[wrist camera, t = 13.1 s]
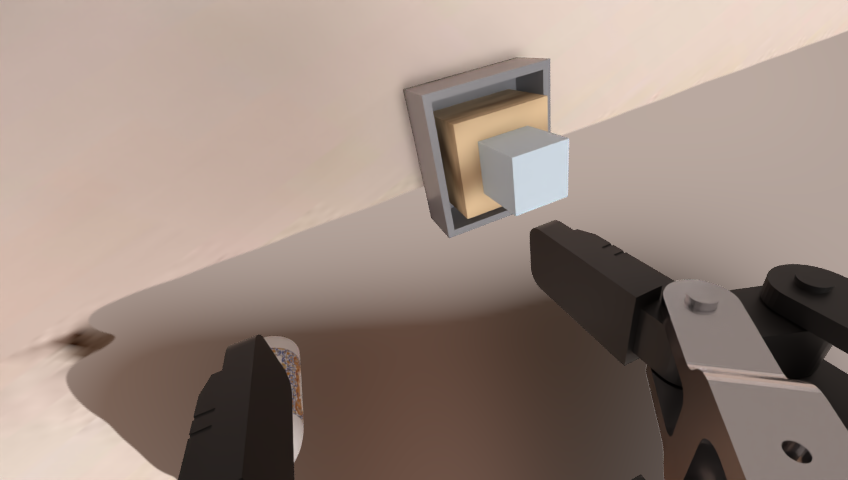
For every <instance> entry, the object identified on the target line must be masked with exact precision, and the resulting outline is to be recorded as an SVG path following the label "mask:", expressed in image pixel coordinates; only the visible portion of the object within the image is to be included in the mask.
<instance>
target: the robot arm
mask: <svg viewBox="0 0 848 480" xmlns="http://www.w3.org/2000/svg"><path fill="white" fill-rule="evenodd" d="M530 251H531V252H530V253H531V271H532V275H533V277H534V279H535V282H536V283H537V285H538V286H539V287H540V288H541V289H542V290H543V291H544V292H545V293H546V294H547V295H548V296H549V297H550V298H551V299H553V300H554V301H555V302H556V303H557V304H558V305H559V306H560V307H561V308H562V309H563V310H565V311H566V312H567V313H568V314H569V315H570V316H571V317H572V318H573V319H574V320H575V321H577V323H578V324H580V325H581V326H582V327H583V328H584V329H585V330H586V331H587V332H588V333H589V334H590V335H591V336H593V337H594V338H595V339H596V340H597V341H598V342H599V343H600V344H601V345H602V346H603V347H604V348H605V349H607V350H608V351H609V352H610V353H611V354H612V355H613V356H614V357H615V358H616V359H617V360H618V361H620V362H621V363H622V364H623V365H624V366H625V365H627V364H629V363H631V362H633V361H635V360H637V359H639V358H640V359H641V360H643V361H644V362H645V363H646V364H647V366H646V375H647V379H648V384H649V388H650V392H651V396H652V400H653V405H654V409H655V414H656V418H657V422H658V426H659V431H660V434H661V439H662V444H663V472H664V480H848V374H847V373H845V372H843V371H841V370H840V369H838V368H837V367H835V366H834V365H832V364H830V363H829V362H827V361H825V360H824V358H825V356H826V355H827V353H828V351H829V350H830V348H831V347H832V345H834V346H835V347H837V348H839V349H841V350H842V351H844V352H846V353H847V354H848V278H846V277H843V276H841V275H839V274H836V273H834V272H831V271H829V270H825V269H822V268H818V267H814V266H808V265H800V264H788V265H781V266H777V267H774V268H773V269H771V270H770V271H769V272H768V274H767V277H766V279H765V281H764V284H763V286H758V287H750V288H743V289H736V290H727V289H725V288H724V287H721V286H719V285H717V284H714V283H711V282H707V281H702V280H695V279H684V280H678V281H674V280H672V279H670V278H669V277H667V276H665V275H663V274H662V273H660V272H658V271H657V270H655V269H653V268H651V267H650V266H648V265H646V264H645V263H643V262H641V261H640V260H638V259H636V258H635V257H633V256H631V255H629V254H628V253H624V252H623V251H622V250H621V249H619V248H617V247H616V246H614V245H613V246H612V245H611V244H610V243H609V242H607V241H606V240H604V239H602V238H601V237H599V236H597V235H596V234H592V233H588V232H585V231H581V230H578V229H577V230H572V229H571V228H569V227H568V226H566V225H565V224H563V223H561V222H560V221H557V220H554V221H551V222H549V223H546V224H543V225H541V226H538V227H536V228H533V229H532V230H531V232H530ZM189 435H190V439H188V441H187V446H186V450H185V454H184V458H183V462H182V466H181V471H180V474H179V478H178V480H294V446H293V408H292V389H291V384H290V380H289V377H288V375H287V373H286V371H285V369H284V368H283V366H282V365H281V363H280V362H279V360H278V359H277V357H276V355H275V354H274V352H273V351H272V349H271V348H270V346H269V345H268V343H267V342H266V340H265V339H264V338H263V337H262V336H261V335H256V336H253V337H251V338H248V339H246V340H243V341H240V342H238V343H235V344H233V345H230V346H228V348H227V350H226V353H225V359H224V364H223V369H222V371H220V372H217V373H215V374H212V375H211V377H210V378H209V380H208V382H207V383H206V385H205V386H204V388H203V390H202V391H201V393H200V394H199V397H198V400H197V405H196V409H195V413H194V421H192V425H191V429H190V433H189ZM632 480H645V479H644V478H643V476H642V475H639V476H637V477H635V478H634V479H632Z"/></svg>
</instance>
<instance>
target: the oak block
mask: <svg viewBox="0 0 848 480" xmlns="http://www.w3.org/2000/svg"><path fill="white" fill-rule="evenodd" d="M433 114H434V119H435V125H436V130H437V136H438V141H439V147H440V152H441V158H442V163H443V169H444V175H445V180H446V186H447V191H448V197H449V202H450V203H451V204H452V205H453V206H454V207H455V208H456V209H457V210H458V211H460V212H461V213H462V214H463V215H464V216H465V217H466V218H467V219H469V218H472V217H475V216H477V215H480V214H483V213H486V212H488V211H491V210H494V209H496V208H499V207H502V206H501V205H500V204H498V203H497V202H495V201H494V200H493V199H491V198H490V197H488V196H487V195H486V194H484V190H483V181H482V173H481V165H480V156H479V148H478V141H482V140H485V139H488V138H491V137H494V136H497V135H500V134H503V133H506V132H509V131H512V130H515V129H518V128H522V127H525V126H531V127H534V128H537V129H541V130H544V131H547V132H548V96H546V95H540V94H535V93H529V92H523V91H517V90H511V89H507V90H503V91H500V92H497V93H493V94H490V95H487V96H483V97H480V98H477V99H473V100H470V101H466V102H463V103H460V104H456V105H453V106H450V107H446V108H443V109H440V110H436V111H433Z"/></svg>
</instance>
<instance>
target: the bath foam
mask: <svg viewBox="0 0 848 480" xmlns="http://www.w3.org/2000/svg"><path fill="white" fill-rule="evenodd" d="M263 338H264V339H265V340H266V342H267V343H268V345H269V346H270V348H271V349H272V351H273V352H274V354H275V355H276V357H277V359H278V360H279V362H280V363H281V365H282V366H283V368H284V369H285V371H286V373H287V375H288V377H289V380H290V384H291V389H292V408H293V446H294V462H295V460H296V458H297V456H298V453H299V451H300V448H301V444H302V439H303V430H304V425H303V424H304V423H303V404H302V385H301V367H300V352H299V348H298V346H297V345H296V344H295V342H294V341H292V340H291V339H289V338H287V337H283V336H266V337H263Z"/></svg>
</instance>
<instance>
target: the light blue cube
mask: <svg viewBox="0 0 848 480" xmlns="http://www.w3.org/2000/svg"><path fill="white" fill-rule="evenodd" d="M478 148H479V156H480V165H481V173H482V181H483V190H484V194H486V195H487V196H488V197H490V198H491V199H493V200H494V201H495V202H497V203H498V204H500V205H501V206H502V207H504V208H505V209H507V210H508V211H509V212H511V213H512V214H514V215H515V216H518V215H520V214H523V213H526V212H528V211H531V210H533V209H536V208H539V207H542V206H544V205H547V204H549V203H552V202H555V201H557V200H560V199H563V198H565V197H567V196H568V164H569V163H568V162H569V138H566V137H563V136H560V135H557V134H553V133H550V132H547V131H544V130H541V129H537V128H534V127H531V126H525V127H522V128H518V129H515V130H512V131H509V132H506V133H503V134H500V135H497V136H494V137H491V138H488V139H485V140H482V141H478Z"/></svg>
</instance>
